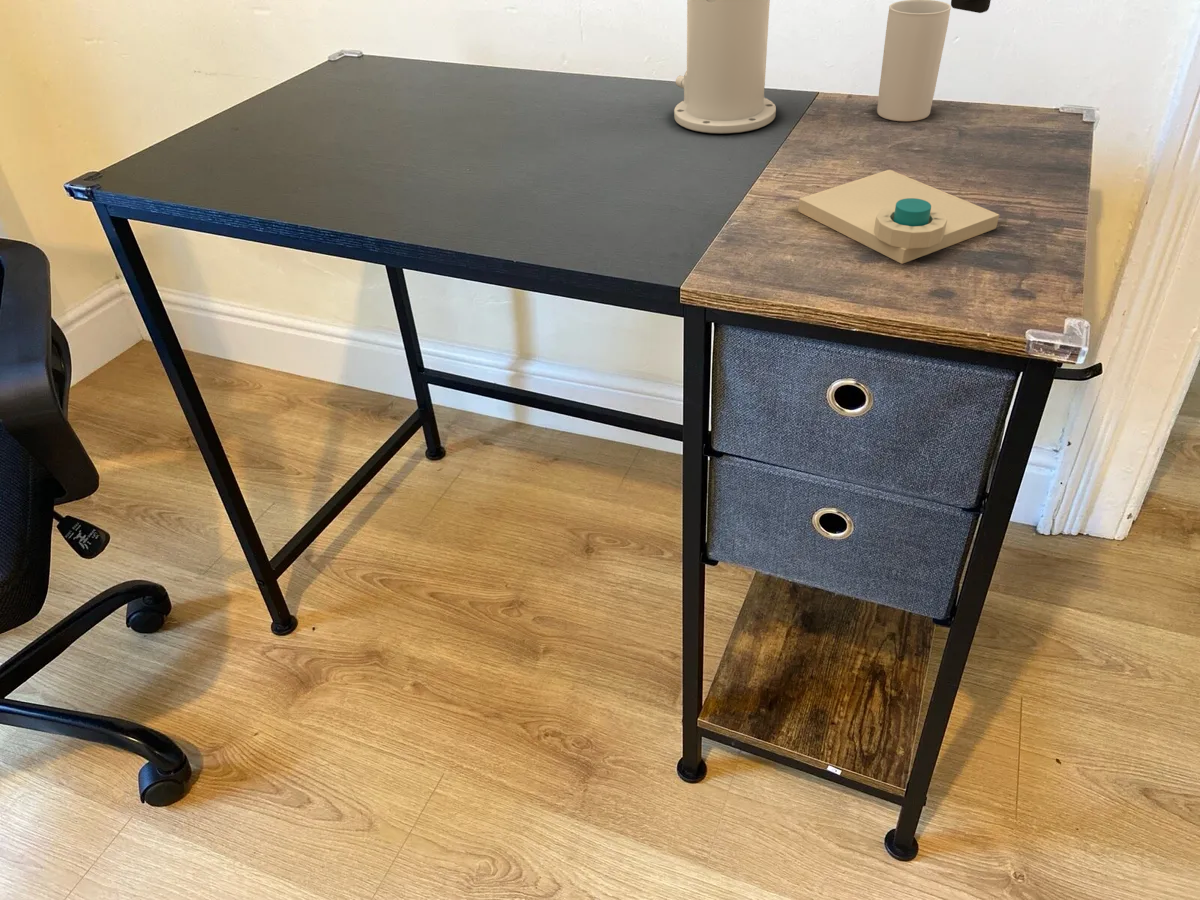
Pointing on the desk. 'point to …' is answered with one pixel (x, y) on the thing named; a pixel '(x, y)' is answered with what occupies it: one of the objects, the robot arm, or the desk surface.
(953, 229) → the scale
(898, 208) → the button
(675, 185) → the desk surface
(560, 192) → the desk surface
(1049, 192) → the desk surface
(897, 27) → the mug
